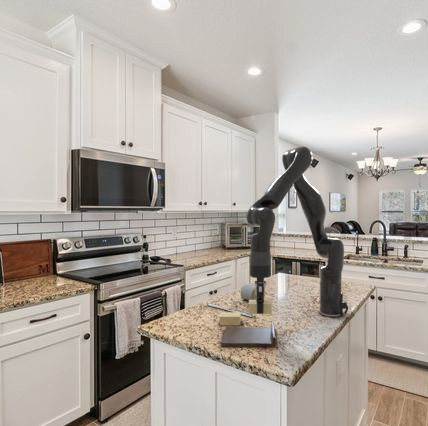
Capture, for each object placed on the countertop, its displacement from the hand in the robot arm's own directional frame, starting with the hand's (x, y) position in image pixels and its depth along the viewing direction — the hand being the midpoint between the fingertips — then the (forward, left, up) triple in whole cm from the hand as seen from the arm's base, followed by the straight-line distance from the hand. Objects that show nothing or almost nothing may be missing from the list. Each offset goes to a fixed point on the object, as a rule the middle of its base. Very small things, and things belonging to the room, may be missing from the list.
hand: (260, 310), depth 107 cm
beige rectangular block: (0, 0, 0) cm, 0 cm away
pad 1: (+12, -14, -10) cm, 21 cm away
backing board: (+4, 0, -10) cm, 11 cm away
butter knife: (+14, -29, -10) cm, 34 cm away
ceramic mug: (+4, -46, -10) cm, 47 cm away
